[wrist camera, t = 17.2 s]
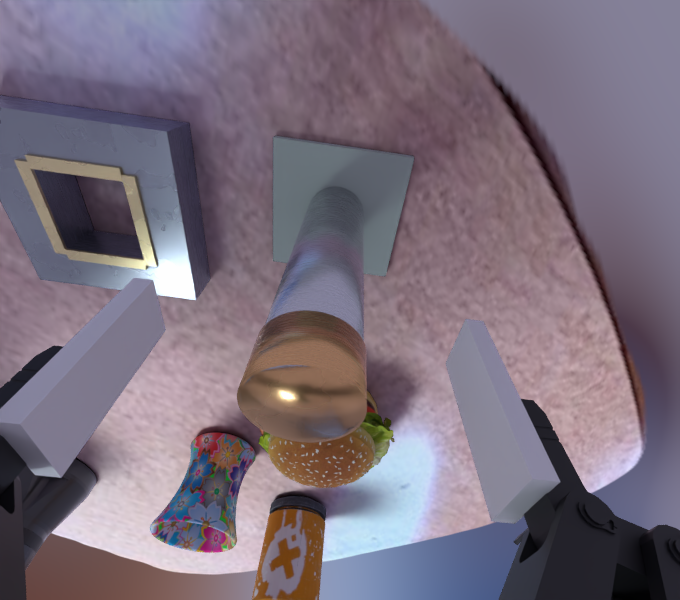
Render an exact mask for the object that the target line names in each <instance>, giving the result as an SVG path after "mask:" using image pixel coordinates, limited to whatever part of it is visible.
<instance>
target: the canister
mask: <svg viewBox="0 0 680 600" xmlns="http://www.w3.org/2000/svg"><path fill="white" fill-rule="evenodd" d="M325 518H326V509H325V507H324V506H323V505H321V504H320V503H318V502H316V501H314V500H313V499H310V498H307V497H303V496H288V497H284V498H280V499H277V500H275V501H274V502H273V503H272V504H271V508H270V515H269V518H268V523H267V528H266V532H265V537H264V542H263V547H262V552H261V557H260V562H259V567H258V571H257V576H256V581H255V586H254V591H253V596H252V600H319V590H320V579H321V567H322V555H323V543H324V530H325Z"/></svg>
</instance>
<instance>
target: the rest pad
mask: <svg viewBox="0 0 680 600" xmlns="http://www.w3.org/2000/svg"><path fill="white" fill-rule="evenodd" d="M413 162H414V156H411V155H404V154H398V153H391V152H384V151H377V150H370V149H364V148H357V147H350V146H343V145H336V144H330V143H323V142H316V141H309V140H302V139H295V138H289V137H282V136H274V137H273V261H276V262H283V263H288V261H289V258H290V255H291V252H292V250H293V247H294V244H295V241H296V239H297V236H298V233H299V230H300V228H301V225H302V222H303V219H304V217H305V214H306V211H307V208H308V206H309V203H310V201H311V199H312V198H313V196H314V195H315V194H316V193H317V192H319V191H320V190H322V189H324V188H327V187H342V188H345V189H348V190H350V191H351V192H353V193H354V194H355V195H356V196H357V197H358V199H359V200H360V202H361V204H362V207H363V211H364V274H371V275H378V276H386V272H387V268H388V264H389V260H390V256H391V252H392V248H393V243H394V239H395V235H396V231H397V227H398V223H399V219H400V215H401V211H402V207H403V203H404V199H405V195H406V190H407V186H408V182H409V178H410V174H411V170H412V166H413Z"/></svg>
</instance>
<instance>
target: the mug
mask: <svg viewBox="0 0 680 600" xmlns="http://www.w3.org/2000/svg"><path fill="white" fill-rule="evenodd" d="M254 461H255V451H254V449H253V448H252V447H251V445H249V444H248V443H247V442H246V441H244V440H243V439H241V438H239V437H236V436H233V435H230V434H225V433H206V434H202V435H200V436H198V437H196V438H195V439H194V440H193V441H192V443H191V458H190V463H189V467H188V470H187V473H186V475H185V478H184V480H183V482H182V484H181V486H180V488H179V489H178V491H177V493H176V494H175V496H174V497H173V499H172V500H171V501H170V503H169V504H168V505H167V507H166V508H165V509H164V510H163V512H162V513H161V514H160V515H159V516H158V517H157V518H156V519H155V520H154V521H153V523H152V524H151V526H150V531H151V533H152V535H153V536H154V537H156V538H157V539H158V540H160V541H162V542H164V543H166V544H169V545H171V546H174V547H177V548H181V549H185V550H190V551H197V552H223V551H227V550H230V549H232V548H233V547H234V546H235V545H236V542H237V537H236V525H235V516H236V504H237V497H238V493H239V489H240V486H241V483H242V480H243V478H244V476H245V474H246V472H247V470H248V469H249V467H250V466H251V465H252V464H253V462H254Z"/></svg>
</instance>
